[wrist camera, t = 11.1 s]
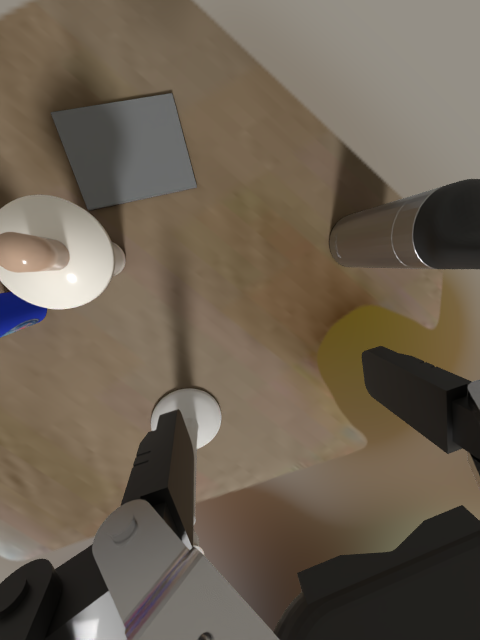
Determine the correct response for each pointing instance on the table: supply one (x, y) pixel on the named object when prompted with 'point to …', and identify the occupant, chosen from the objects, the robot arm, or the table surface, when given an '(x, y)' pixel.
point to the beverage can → (18, 313)
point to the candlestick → (192, 423)
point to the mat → (126, 150)
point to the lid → (53, 252)
